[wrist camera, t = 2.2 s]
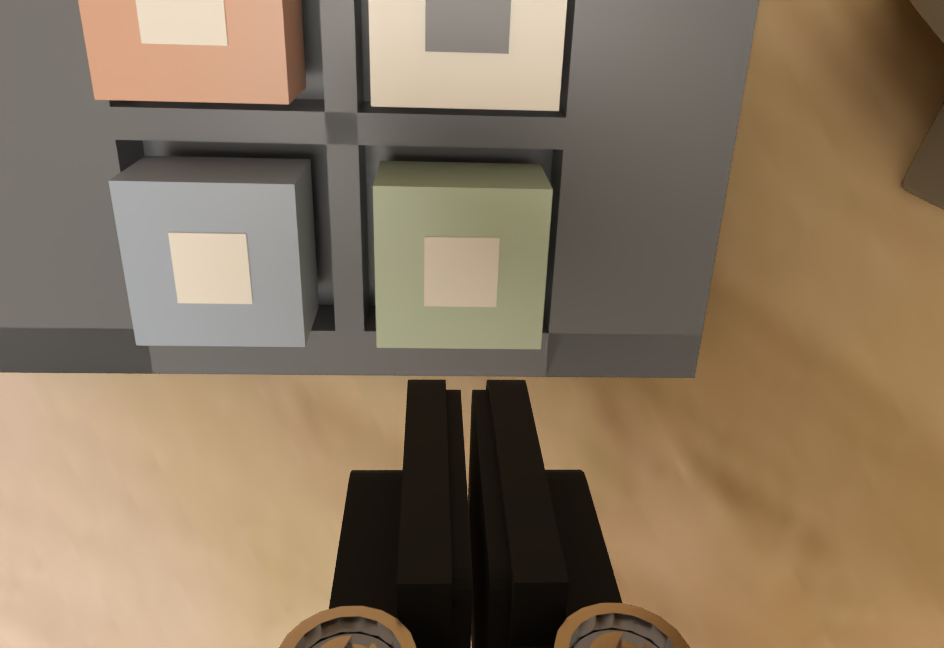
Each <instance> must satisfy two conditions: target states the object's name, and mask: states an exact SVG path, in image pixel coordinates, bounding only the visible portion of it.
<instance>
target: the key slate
mask: <svg viewBox="0 0 944 648" xmlns="http://www.w3.org/2000/svg"><path fill="white" fill-rule="evenodd" d="M109 187H110V193H111V199H112V205H113V211H114V217H115V223H116V229H117V235H118V241H119V246H120V252H121V258H122V264H123V270H124V276H125V282H126V288H127V294H128V300H129V306H130V312H131V318H132V324H133V329H134V335H135V341H136V345H140V346H243V347H305V346H306V343H307V340H308V338H309V335H310V332H311V329H312V326H313V323H314V320H315V317H316V314H317V311H318V308H319V301H318V283H317V266H316V248H315V231H314V213H313V195H312V178H311V160H310V159H279V158H232V157H184V156H144V157H143V158H141V159H140V160H138V161H137V162H135V163H134V164H133V165H131V166H130V167H128V168H127V169H125V170H124V171H122V172H121V173H119V174H118V175H116V176H115V177H113V178H112V179H110V180H109Z"/></svg>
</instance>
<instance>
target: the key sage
mask: <svg viewBox="0 0 944 648" xmlns="http://www.w3.org/2000/svg"><path fill="white" fill-rule="evenodd" d="M552 195H553V189H552V187H551V185H550V183H549V180H548V178H547V176H546V174H545V172H544V170H543V168H542V166H541V164H516V163H468V162H421V161H380V163H379V166H378V170H377V173H376V177H375V180H374V184H373V216H374V258H375V301H376V343H377V348H449V349H541V340H542V327H543V314H544V301H545V288H546V274H547V261H548V248H549V235H550V222H551V208H552Z"/></svg>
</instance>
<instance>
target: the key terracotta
mask: <svg viewBox="0 0 944 648" xmlns="http://www.w3.org/2000/svg"><path fill="white" fill-rule="evenodd" d="M78 3H79V9H80V15H81V21H82V27H83V33H84V39H85V45H86V51H87V57H88V63H89V69H90V75H91V80H92V86H93V92H94V98H95V100H127V101H168V102H209V103H250V104H290V103H291V102H292V101H293V100H294V99H295V98H296V97H297V96H298V95H299V94H300V93H301V92H302V91H303V90H304V89H305V88H306V73H305V55H304V38H303V20H302V3H301V0H78Z"/></svg>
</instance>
